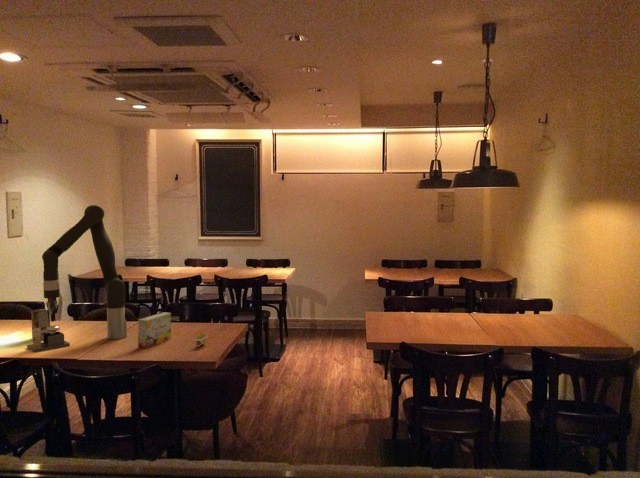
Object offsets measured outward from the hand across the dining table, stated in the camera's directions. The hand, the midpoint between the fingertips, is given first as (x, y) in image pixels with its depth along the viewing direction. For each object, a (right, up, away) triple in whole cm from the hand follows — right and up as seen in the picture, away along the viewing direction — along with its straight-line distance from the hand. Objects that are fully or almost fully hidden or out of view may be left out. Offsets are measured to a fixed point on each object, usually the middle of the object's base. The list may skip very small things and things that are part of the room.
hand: (53, 321), depth 271 cm
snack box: (+51, -13, +7) cm, 54 cm away
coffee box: (-14, -13, +15) cm, 24 cm away
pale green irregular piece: (+78, -14, +2) cm, 79 cm away
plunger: (-2, -7, -2) cm, 8 cm away
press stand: (-2, -13, -1) cm, 14 cm away
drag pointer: (-5, -9, -5) cm, 12 cm away
